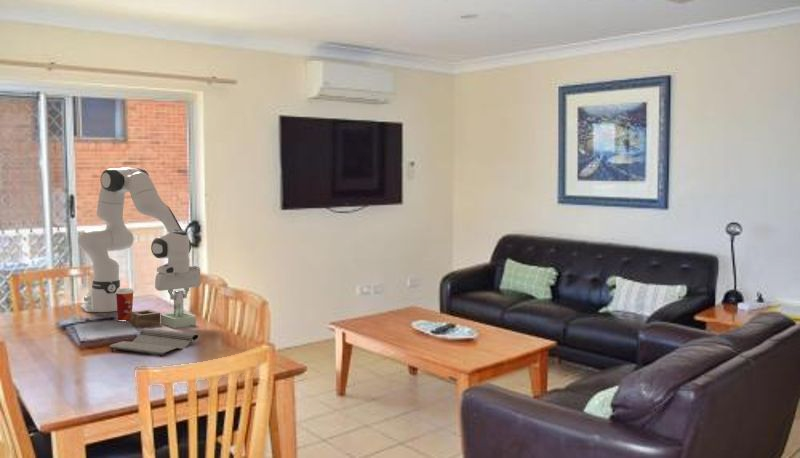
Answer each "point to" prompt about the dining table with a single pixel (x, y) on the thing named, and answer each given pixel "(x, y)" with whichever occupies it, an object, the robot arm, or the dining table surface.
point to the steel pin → (178, 303)
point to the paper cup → (124, 303)
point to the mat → (156, 342)
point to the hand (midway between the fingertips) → (178, 298)
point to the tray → (178, 320)
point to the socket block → (145, 318)
